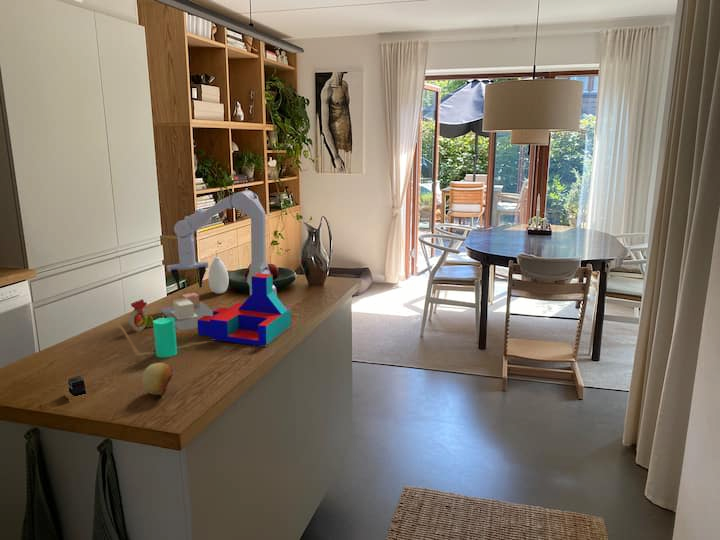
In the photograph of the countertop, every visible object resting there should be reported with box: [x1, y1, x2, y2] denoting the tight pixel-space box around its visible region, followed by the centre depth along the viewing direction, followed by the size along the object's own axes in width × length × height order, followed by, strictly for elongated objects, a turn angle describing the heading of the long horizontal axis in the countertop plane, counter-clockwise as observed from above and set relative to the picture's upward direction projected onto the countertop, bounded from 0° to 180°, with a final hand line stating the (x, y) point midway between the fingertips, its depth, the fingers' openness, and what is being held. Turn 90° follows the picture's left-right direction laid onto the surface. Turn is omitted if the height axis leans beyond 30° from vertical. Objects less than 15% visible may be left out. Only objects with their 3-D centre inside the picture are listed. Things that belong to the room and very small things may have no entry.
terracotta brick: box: [182, 292, 200, 307], centre depth 210 cm, size 5×5×4 cm
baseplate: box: [159, 301, 214, 332], centre depth 199 cm, size 16×30×1 cm, turn 32°
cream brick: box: [172, 297, 194, 318], centre depth 200 cm, size 5×9×4 cm, turn 32°
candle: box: [152, 315, 178, 358], centre depth 164 cm, size 6×6×12 cm
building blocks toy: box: [197, 273, 291, 346], centre depth 180 cm, size 19×25×18 cm
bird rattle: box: [128, 299, 154, 332], centre depth 184 cm, size 6×11×9 cm
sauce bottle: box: [207, 251, 230, 294], centre depth 227 cm, size 8×8×18 cm
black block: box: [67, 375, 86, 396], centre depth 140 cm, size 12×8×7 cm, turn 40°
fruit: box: [141, 362, 174, 396], centre depth 138 cm, size 8×8×8 cm
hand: (189, 288), depth 209 cm, fingers open, 7 cm apart
